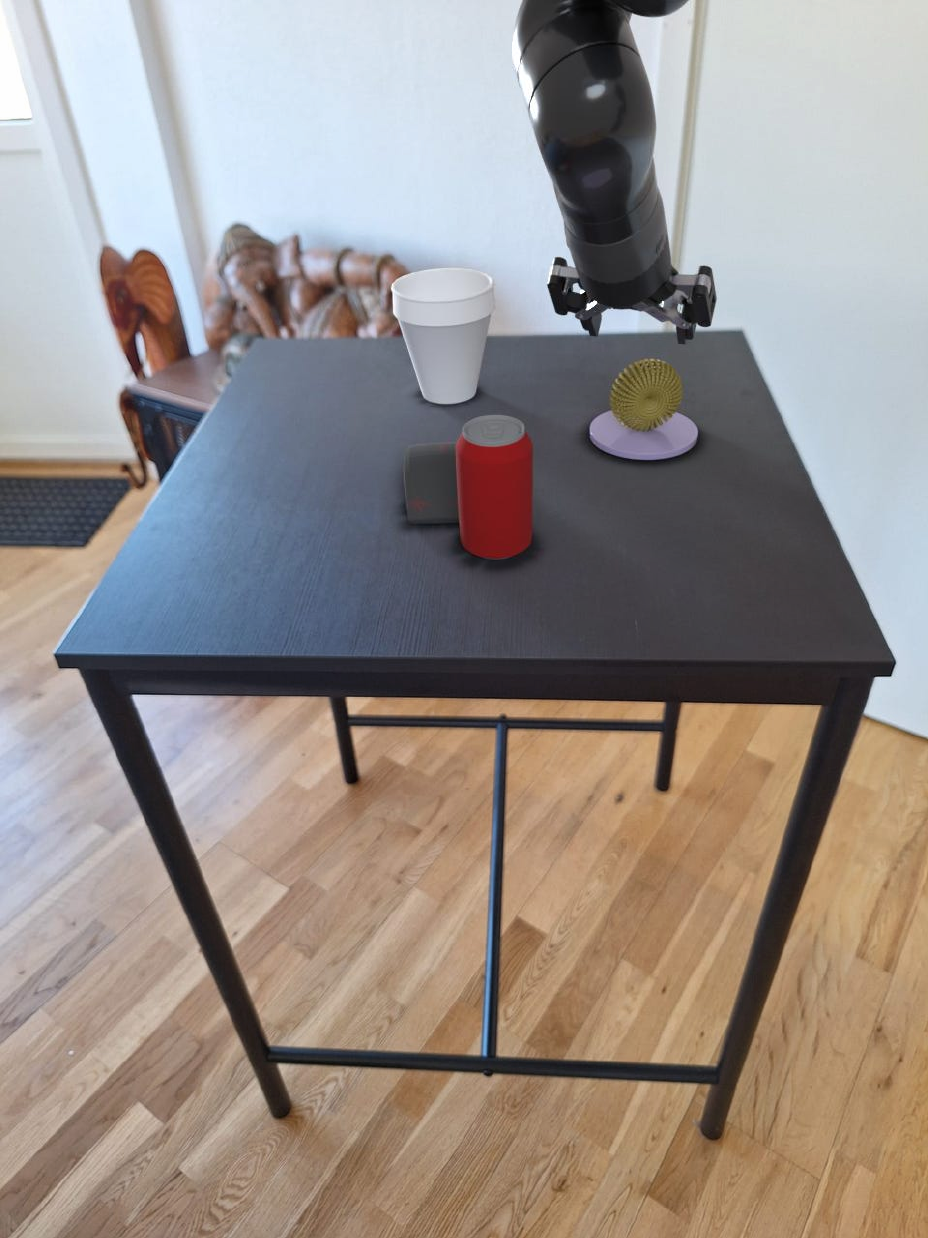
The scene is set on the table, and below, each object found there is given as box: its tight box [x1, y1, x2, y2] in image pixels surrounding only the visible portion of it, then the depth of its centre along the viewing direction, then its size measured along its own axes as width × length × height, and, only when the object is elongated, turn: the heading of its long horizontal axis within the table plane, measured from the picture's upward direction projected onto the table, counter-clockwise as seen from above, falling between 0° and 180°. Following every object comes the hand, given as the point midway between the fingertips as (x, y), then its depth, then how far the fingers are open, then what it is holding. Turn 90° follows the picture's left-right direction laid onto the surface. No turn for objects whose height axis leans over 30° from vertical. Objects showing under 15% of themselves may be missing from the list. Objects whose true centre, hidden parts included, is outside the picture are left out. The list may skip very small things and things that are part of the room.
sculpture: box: [609, 358, 684, 431], centre depth 92 cm, size 8×4×8 cm, turn 97°
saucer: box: [589, 409, 699, 461], centre depth 95 cm, size 12×12×1 cm
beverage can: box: [456, 414, 534, 561], centre depth 76 cm, size 7×7×12 cm
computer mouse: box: [403, 441, 460, 525], centre depth 87 cm, size 8×14×4 cm, turn 179°
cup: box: [390, 267, 496, 405], centre depth 103 cm, size 12×12×14 cm
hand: (639, 331), depth 81 cm, fingers open, 8 cm apart
